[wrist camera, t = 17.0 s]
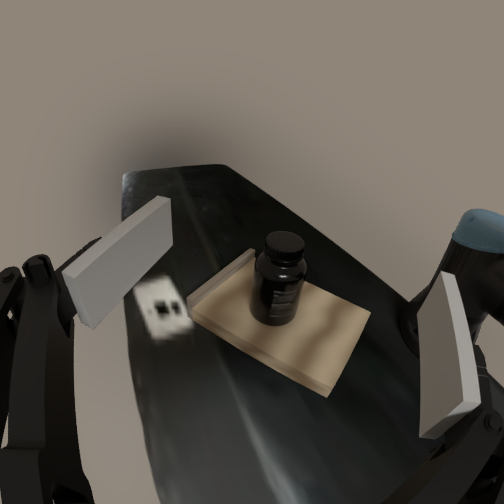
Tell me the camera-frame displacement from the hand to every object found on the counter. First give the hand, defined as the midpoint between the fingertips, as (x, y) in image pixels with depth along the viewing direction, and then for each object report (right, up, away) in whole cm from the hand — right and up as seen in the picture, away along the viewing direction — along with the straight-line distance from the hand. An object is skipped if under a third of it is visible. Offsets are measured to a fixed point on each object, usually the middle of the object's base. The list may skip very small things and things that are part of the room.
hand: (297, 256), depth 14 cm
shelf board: (+3, -11, +31) cm, 33 cm away
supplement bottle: (+1, -8, +30) cm, 31 cm away
